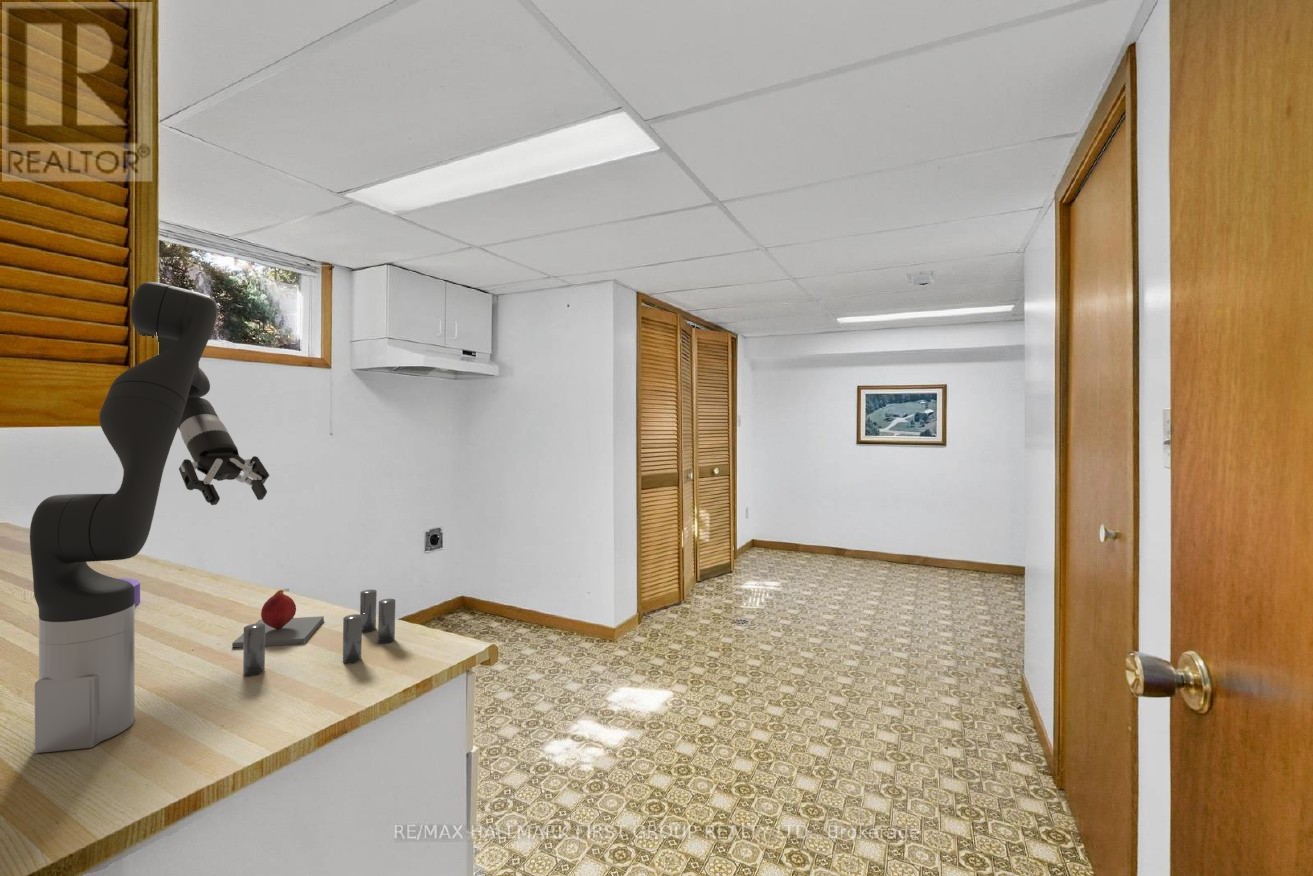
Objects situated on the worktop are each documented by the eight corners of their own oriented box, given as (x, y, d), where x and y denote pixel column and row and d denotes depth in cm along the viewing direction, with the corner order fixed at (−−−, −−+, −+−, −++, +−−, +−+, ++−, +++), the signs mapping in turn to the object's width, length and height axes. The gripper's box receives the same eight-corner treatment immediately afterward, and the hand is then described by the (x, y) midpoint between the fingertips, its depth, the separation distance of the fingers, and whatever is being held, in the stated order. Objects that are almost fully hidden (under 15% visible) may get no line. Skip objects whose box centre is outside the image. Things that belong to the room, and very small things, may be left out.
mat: (304, 643, 107) (304, 638, 107) (232, 648, 104) (232, 642, 104) (323, 620, 119) (323, 616, 119) (259, 624, 116) (259, 619, 116)
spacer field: (381, 666, 99) (382, 622, 99) (239, 676, 93) (240, 630, 93) (401, 624, 118) (402, 588, 118) (284, 631, 112) (285, 593, 112)
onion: (279, 636, 108) (279, 596, 108) (253, 633, 109) (253, 593, 108) (302, 625, 114) (302, 587, 113) (277, 622, 114) (278, 584, 114)
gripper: (174, 428, 109) (207, 492, 104) (252, 428, 122) (284, 484, 117) (160, 454, 111) (191, 516, 107) (238, 451, 124) (268, 506, 120)
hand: (240, 499), depth 112 cm, fingers open, 8 cm apart
